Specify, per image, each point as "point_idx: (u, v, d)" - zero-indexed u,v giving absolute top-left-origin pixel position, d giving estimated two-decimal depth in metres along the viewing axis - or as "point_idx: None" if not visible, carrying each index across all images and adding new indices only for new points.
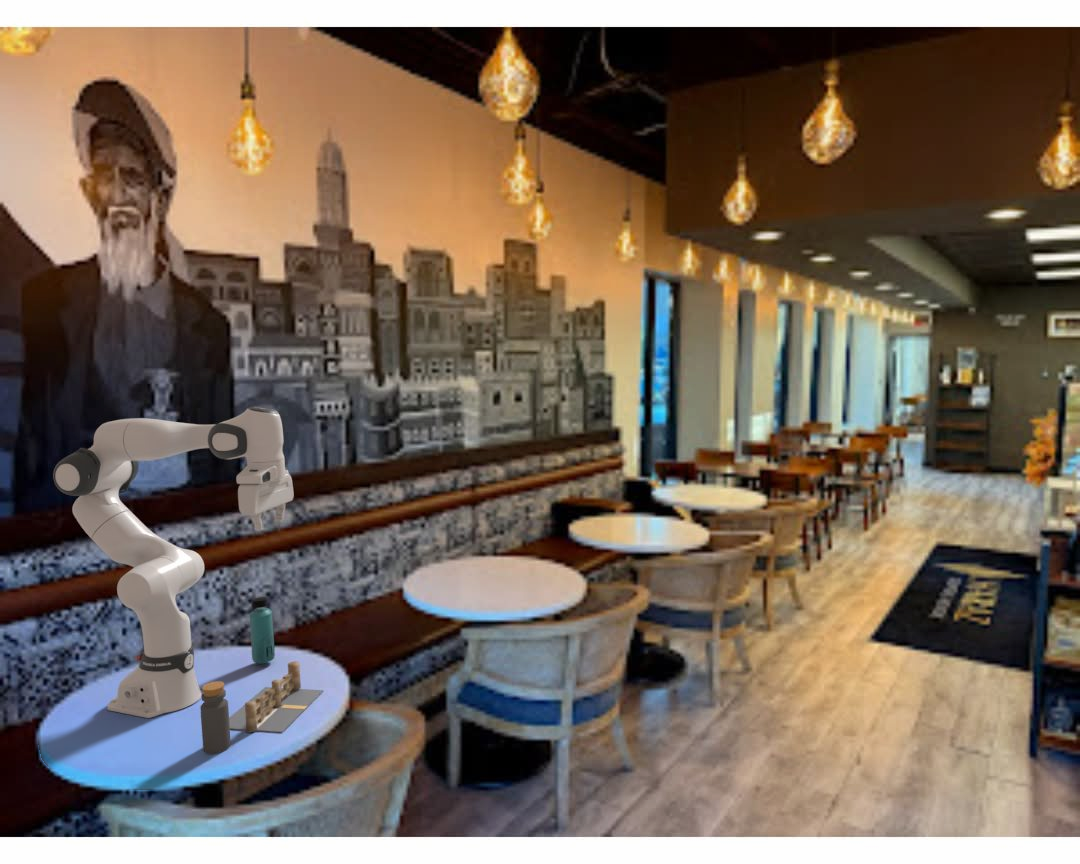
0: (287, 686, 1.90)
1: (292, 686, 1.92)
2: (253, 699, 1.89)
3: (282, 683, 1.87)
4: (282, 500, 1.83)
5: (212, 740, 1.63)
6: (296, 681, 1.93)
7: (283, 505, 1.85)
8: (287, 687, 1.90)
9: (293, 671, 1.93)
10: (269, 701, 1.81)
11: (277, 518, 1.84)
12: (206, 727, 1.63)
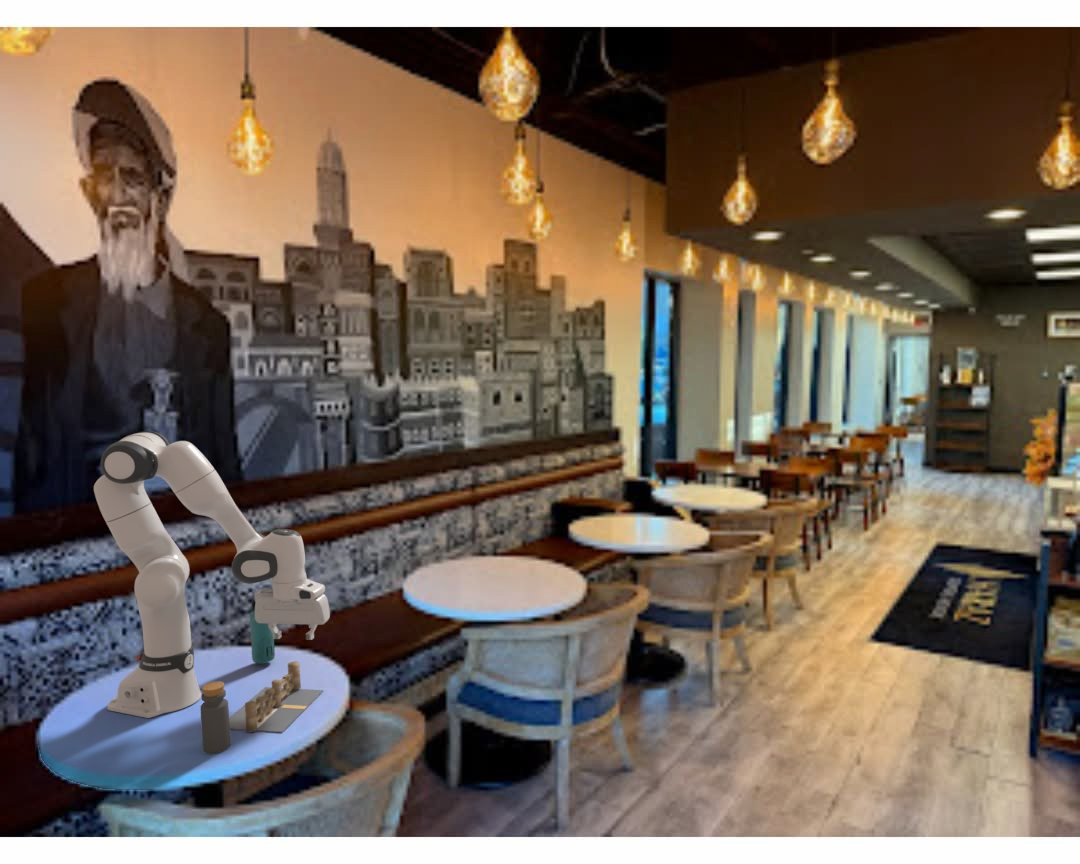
0: (287, 686, 1.90)
1: (292, 686, 1.92)
2: (253, 699, 1.89)
3: (282, 683, 1.87)
4: None
5: (212, 740, 1.63)
6: (296, 681, 1.93)
7: None
8: (287, 687, 1.90)
9: (293, 671, 1.93)
10: (269, 701, 1.81)
11: (279, 634, 1.94)
12: (206, 727, 1.63)
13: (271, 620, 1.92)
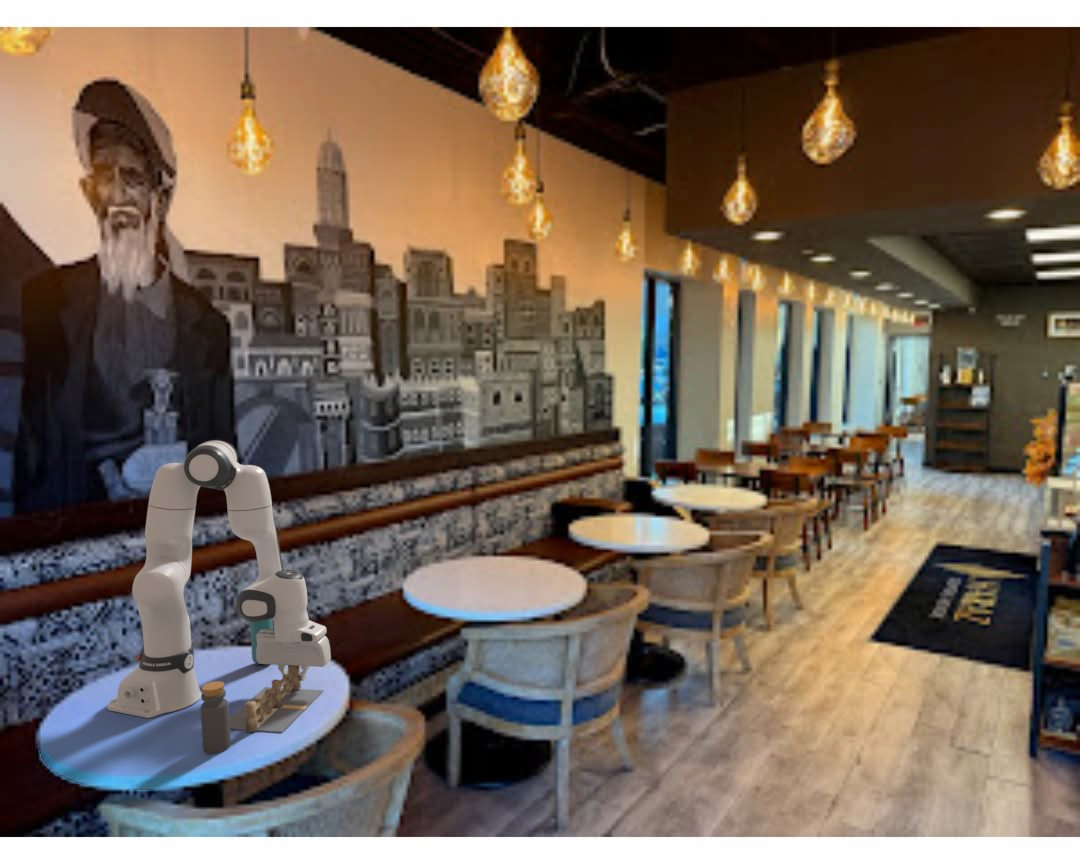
0: (287, 686, 1.90)
1: (292, 686, 1.92)
2: (253, 699, 1.89)
3: (282, 683, 1.87)
4: None
5: (212, 740, 1.63)
6: (296, 681, 1.93)
7: None
8: (287, 687, 1.90)
9: (293, 671, 1.93)
10: (269, 701, 1.81)
11: None
12: (206, 727, 1.63)
13: (272, 661, 1.93)
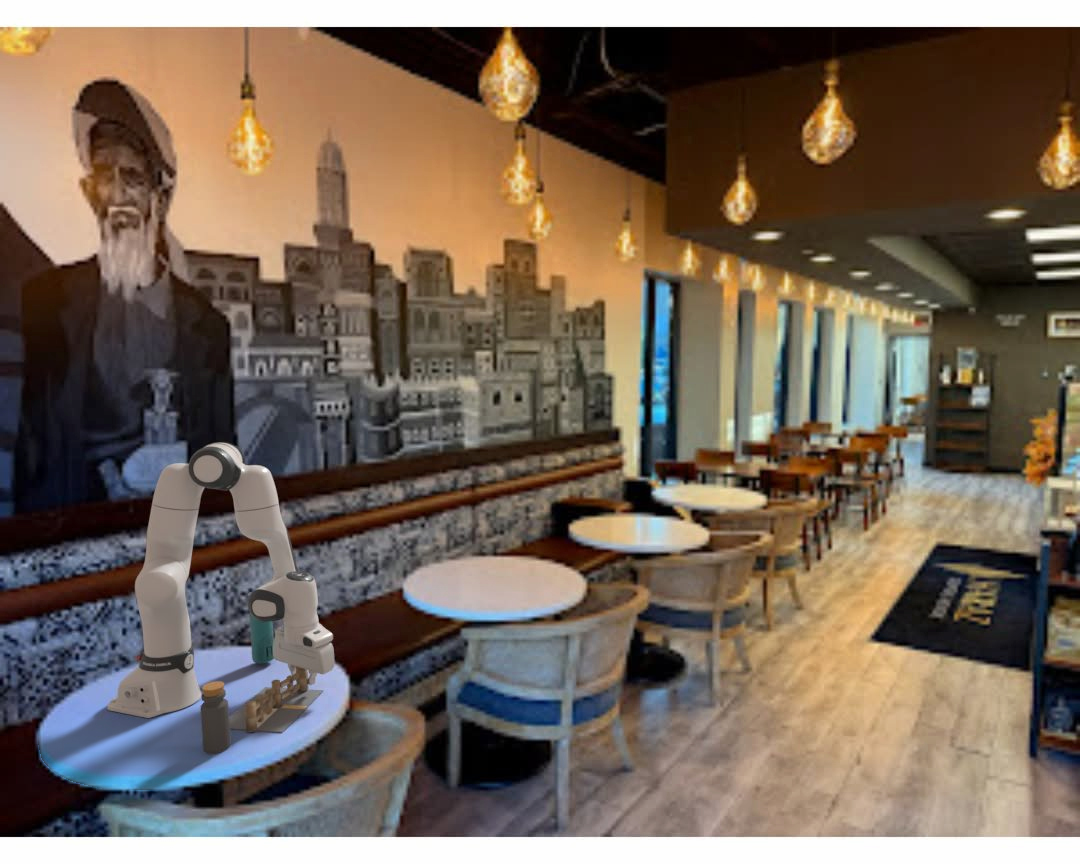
0: (291, 687, 1.89)
1: (297, 687, 1.91)
2: (253, 699, 1.89)
3: (284, 683, 1.87)
4: None
5: (212, 740, 1.63)
6: (302, 682, 1.92)
7: None
8: (291, 688, 1.89)
9: (299, 672, 1.92)
10: (269, 701, 1.81)
11: None
12: (206, 727, 1.63)
13: (284, 660, 1.94)
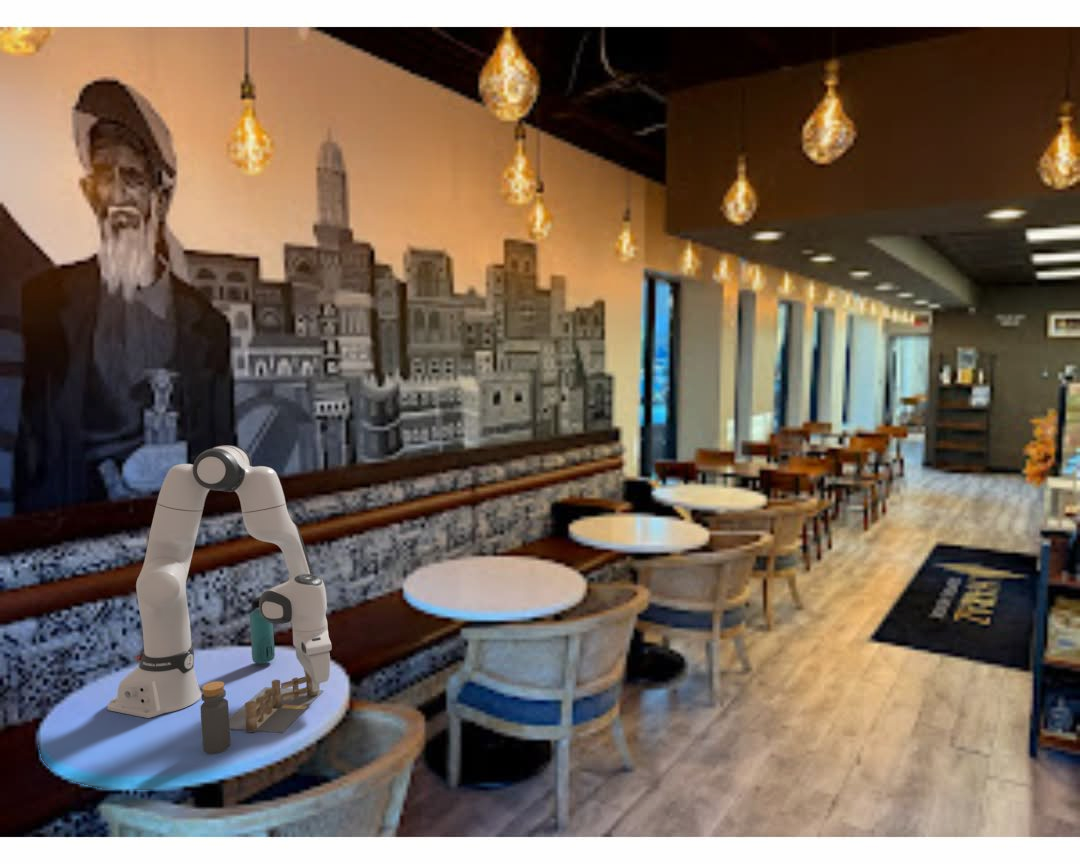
0: (295, 689, 1.87)
1: (304, 690, 1.89)
2: (253, 699, 1.89)
3: (285, 685, 1.86)
4: None
5: (212, 740, 1.63)
6: (309, 687, 1.89)
7: None
8: (295, 690, 1.88)
9: (307, 676, 1.89)
10: (269, 701, 1.81)
11: None
12: (206, 727, 1.63)
13: (300, 660, 1.93)
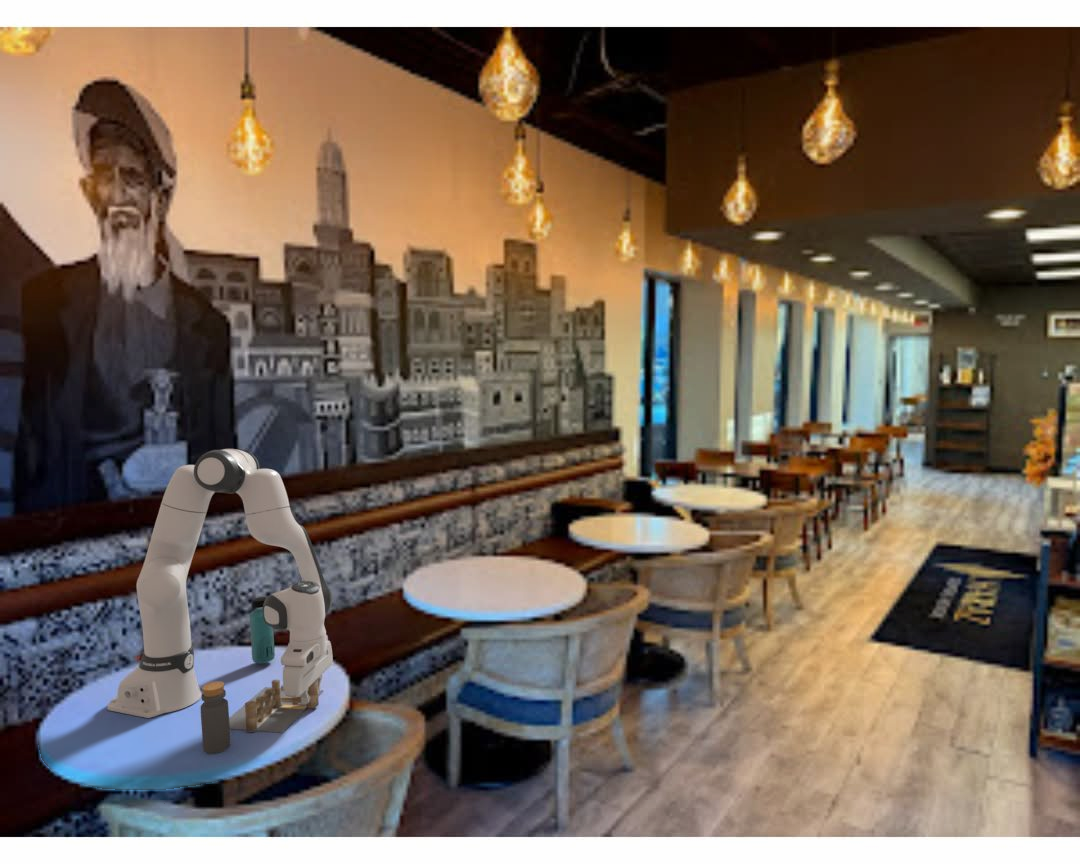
0: None
1: None
2: (253, 699, 1.89)
3: None
4: (323, 670, 1.86)
5: (212, 740, 1.63)
6: None
7: (320, 676, 1.87)
8: None
9: None
10: (269, 701, 1.81)
11: None
12: (206, 727, 1.63)
13: None
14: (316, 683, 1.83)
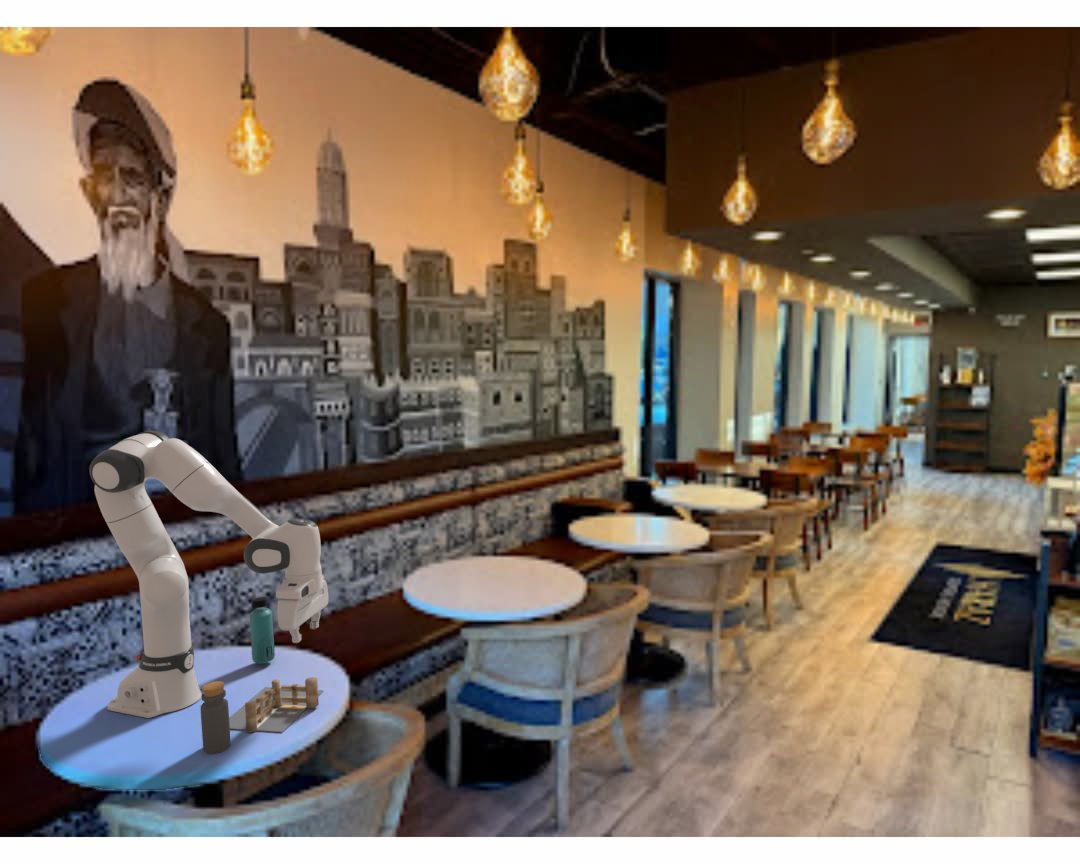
0: (293, 696, 1.84)
1: (302, 700, 1.84)
2: (253, 699, 1.89)
3: (284, 688, 1.84)
4: (318, 608, 1.86)
5: (212, 740, 1.63)
6: (306, 697, 1.83)
7: (319, 612, 1.88)
8: (293, 696, 1.84)
9: (305, 686, 1.83)
10: (269, 701, 1.81)
11: (313, 625, 1.87)
12: (206, 727, 1.63)
13: None
14: (316, 683, 1.83)
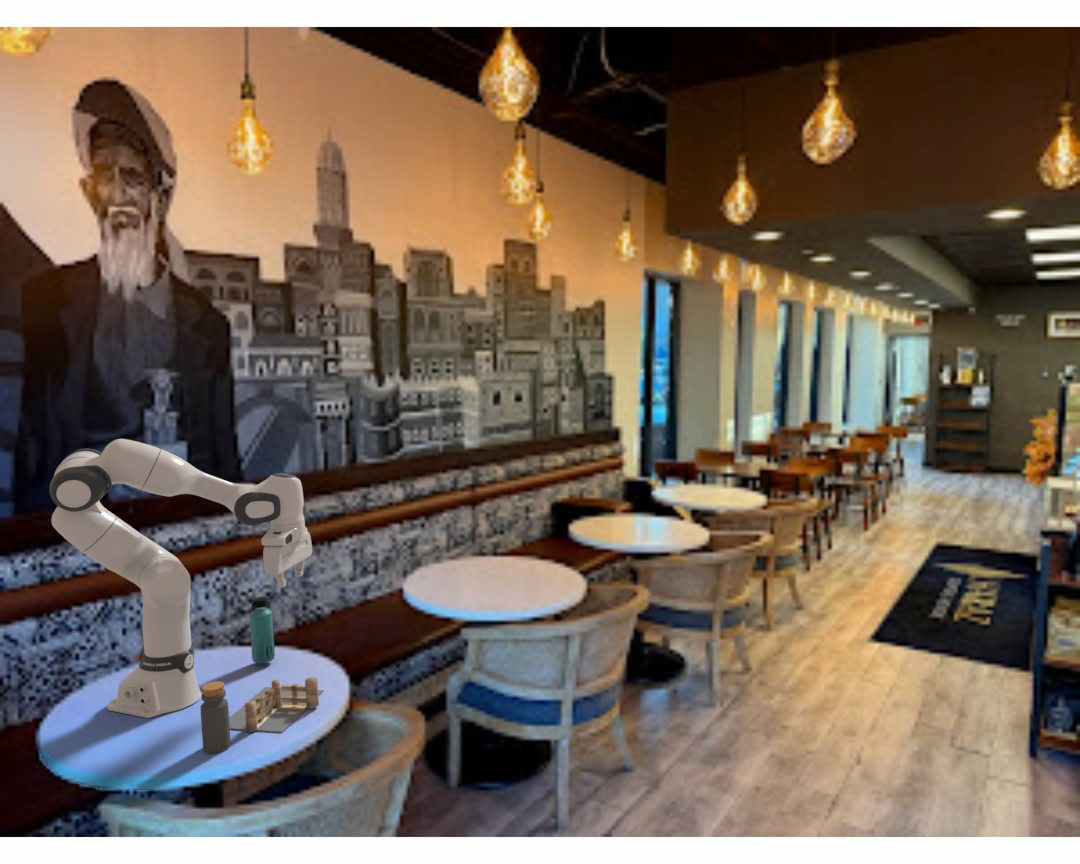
0: (293, 696, 1.84)
1: (302, 700, 1.84)
2: (253, 699, 1.89)
3: (284, 688, 1.84)
4: (302, 557, 1.99)
5: (212, 741, 1.63)
6: (306, 697, 1.83)
7: (303, 561, 2.01)
8: (293, 696, 1.84)
9: (305, 686, 1.83)
10: (269, 701, 1.81)
11: (297, 573, 2.00)
12: (206, 727, 1.63)
13: None
14: (316, 683, 1.83)
